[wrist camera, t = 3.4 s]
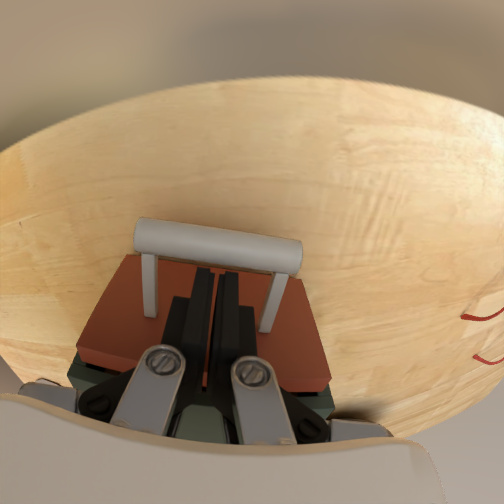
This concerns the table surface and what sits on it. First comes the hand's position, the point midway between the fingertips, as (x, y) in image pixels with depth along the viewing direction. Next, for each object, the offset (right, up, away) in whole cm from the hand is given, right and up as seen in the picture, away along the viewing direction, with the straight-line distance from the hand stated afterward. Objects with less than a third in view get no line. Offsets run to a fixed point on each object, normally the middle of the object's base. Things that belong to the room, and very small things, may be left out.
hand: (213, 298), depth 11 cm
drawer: (-2, -3, +8) cm, 8 cm away
